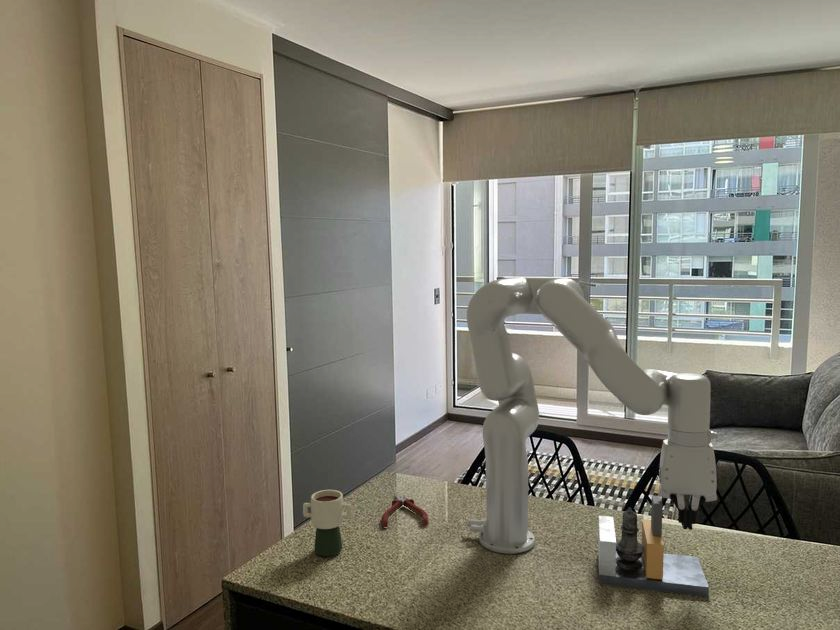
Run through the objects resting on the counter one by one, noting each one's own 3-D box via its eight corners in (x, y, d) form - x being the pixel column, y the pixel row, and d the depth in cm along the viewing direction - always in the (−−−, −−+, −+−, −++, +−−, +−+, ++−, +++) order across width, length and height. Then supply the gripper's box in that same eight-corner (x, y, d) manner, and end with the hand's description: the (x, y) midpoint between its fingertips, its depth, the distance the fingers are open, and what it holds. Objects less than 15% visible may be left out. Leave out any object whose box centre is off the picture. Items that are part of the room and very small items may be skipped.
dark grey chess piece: (628, 573, 122) (629, 515, 121) (607, 559, 128) (608, 504, 126) (650, 566, 125) (651, 509, 123) (629, 553, 130) (630, 499, 129)
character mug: (355, 544, 140) (354, 489, 139) (349, 560, 133) (348, 502, 132) (308, 543, 141) (306, 488, 139) (300, 559, 134) (298, 501, 132)
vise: (599, 584, 122) (600, 540, 121) (597, 555, 134) (598, 515, 133) (708, 597, 117) (710, 552, 116) (697, 566, 128) (698, 524, 128)
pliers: (422, 496, 169) (422, 486, 168) (429, 529, 149) (429, 518, 148) (380, 498, 168) (380, 488, 167) (382, 531, 148) (381, 521, 147)
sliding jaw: (646, 577, 120) (648, 509, 119) (641, 551, 131) (642, 488, 129) (662, 579, 119) (664, 511, 118) (656, 552, 130) (658, 489, 128)
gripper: (725, 433, 122) (723, 522, 124) (646, 429, 126) (645, 515, 128) (734, 444, 115) (732, 538, 117) (649, 440, 119) (648, 531, 121)
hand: (686, 526), depth 122 cm, fingers closed
